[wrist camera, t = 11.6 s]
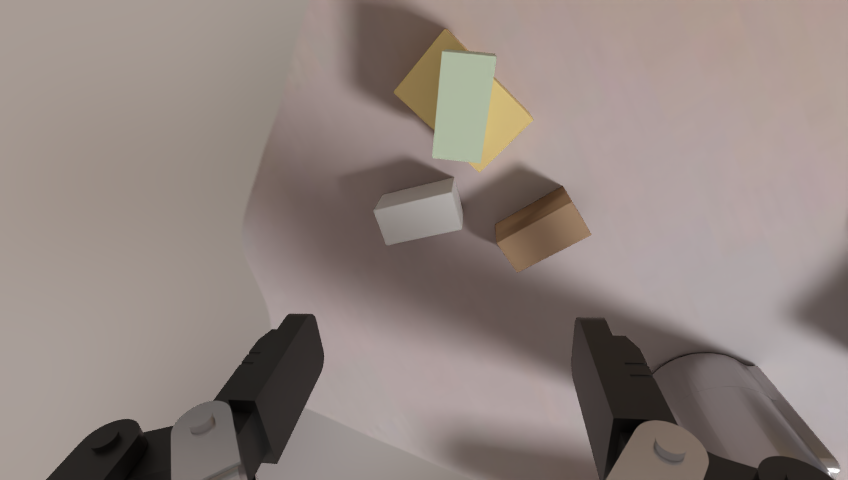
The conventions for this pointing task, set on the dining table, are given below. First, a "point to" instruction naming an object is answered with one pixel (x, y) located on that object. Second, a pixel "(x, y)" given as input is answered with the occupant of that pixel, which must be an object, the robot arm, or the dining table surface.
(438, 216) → the grey brick
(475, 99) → the sage brick
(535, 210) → the walnut brick
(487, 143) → the ochre brick
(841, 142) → the dining table surface
